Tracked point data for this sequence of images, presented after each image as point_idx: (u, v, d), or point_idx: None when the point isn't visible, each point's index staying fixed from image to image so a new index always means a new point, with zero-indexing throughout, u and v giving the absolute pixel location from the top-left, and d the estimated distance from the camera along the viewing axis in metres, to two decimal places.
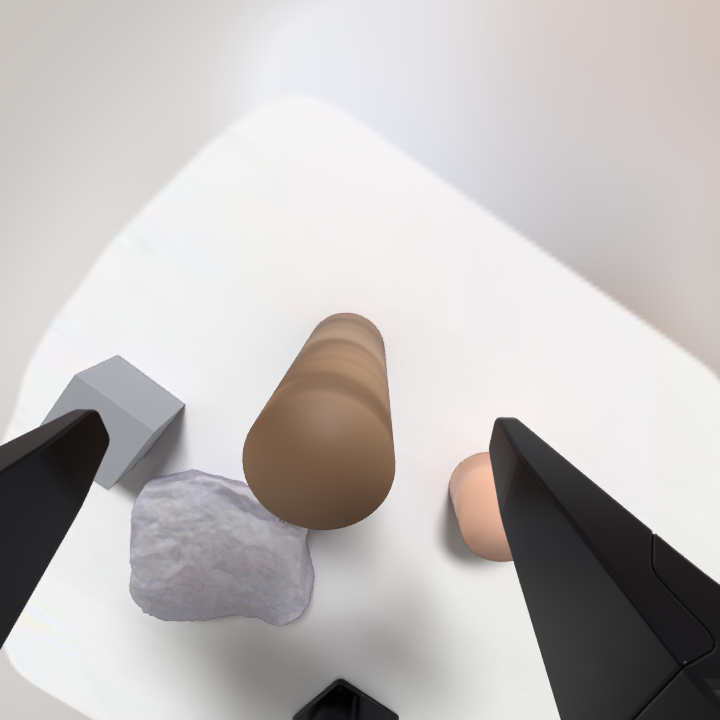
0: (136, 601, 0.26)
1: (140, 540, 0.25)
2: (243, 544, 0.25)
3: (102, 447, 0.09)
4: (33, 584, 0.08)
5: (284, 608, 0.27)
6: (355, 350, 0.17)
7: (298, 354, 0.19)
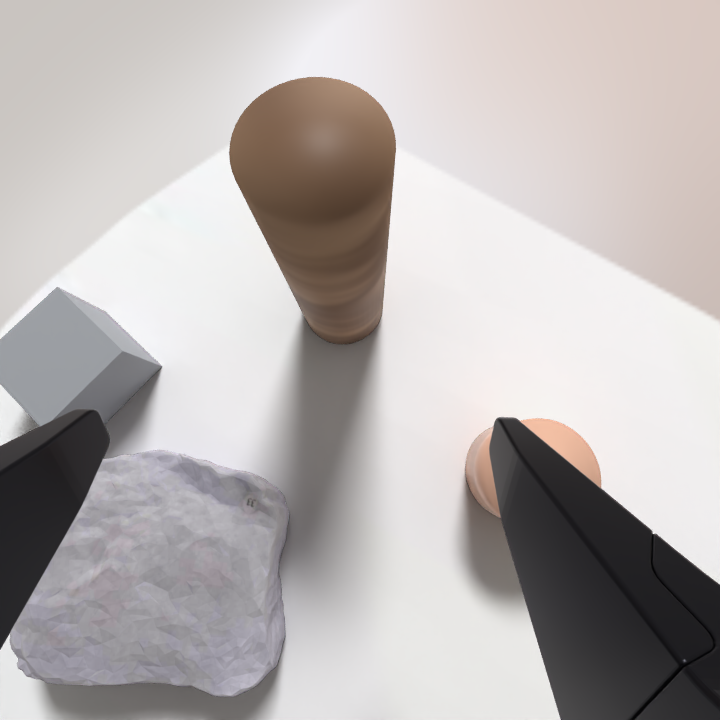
0: (14, 639, 0.17)
1: None
2: (194, 535, 0.19)
3: (102, 447, 0.09)
4: (33, 584, 0.08)
5: (235, 660, 0.18)
6: None
7: None
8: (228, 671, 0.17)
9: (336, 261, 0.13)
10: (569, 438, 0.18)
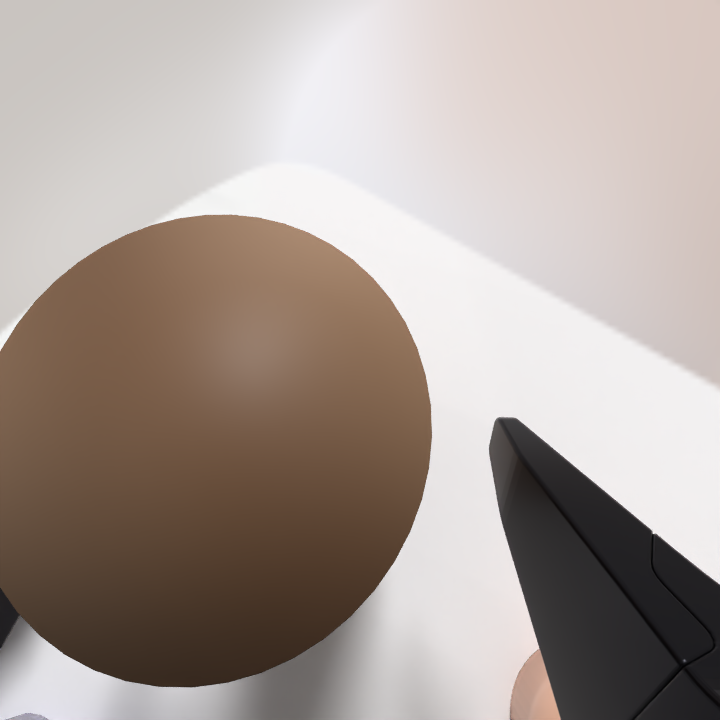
0: None
1: None
2: None
3: None
4: None
5: None
6: None
7: None
8: None
9: None
10: None
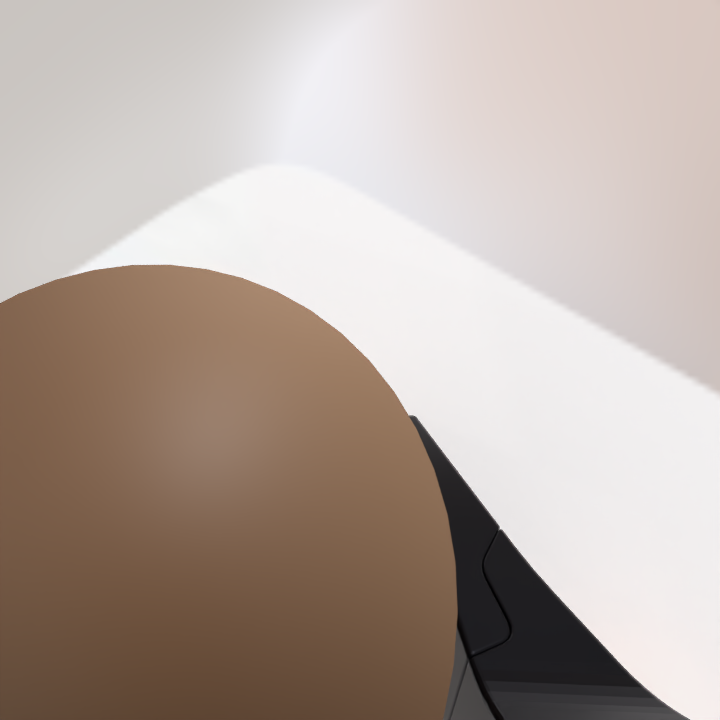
0: None
1: None
2: None
3: None
4: None
5: None
6: None
7: None
8: None
9: None
10: None
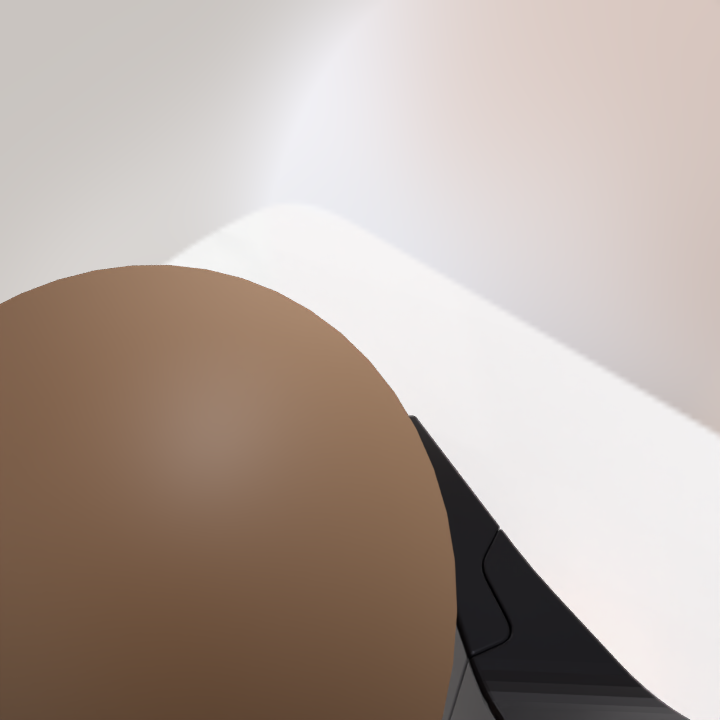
0: None
1: None
2: None
3: None
4: None
5: None
6: None
7: None
8: None
9: None
10: None
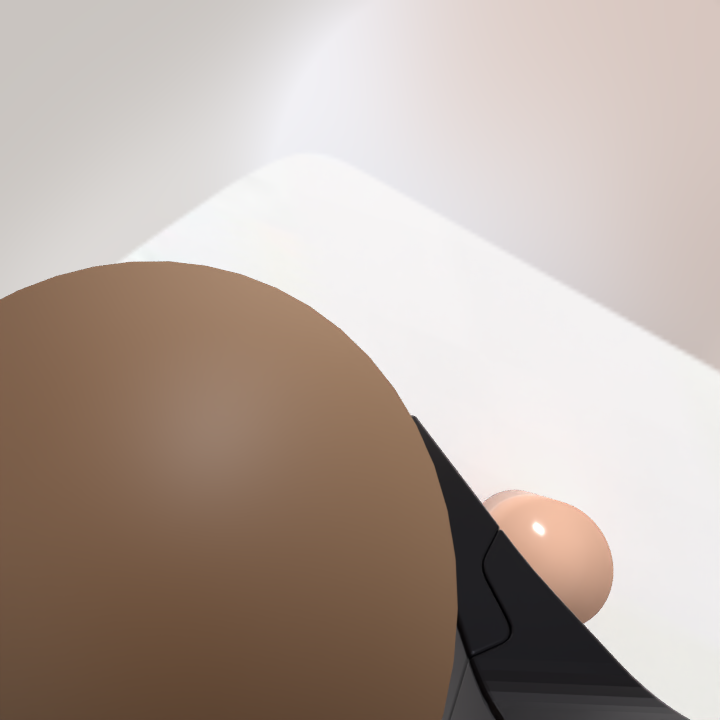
0: None
1: None
2: None
3: None
4: None
5: None
6: None
7: None
8: None
9: None
10: (579, 522, 0.17)
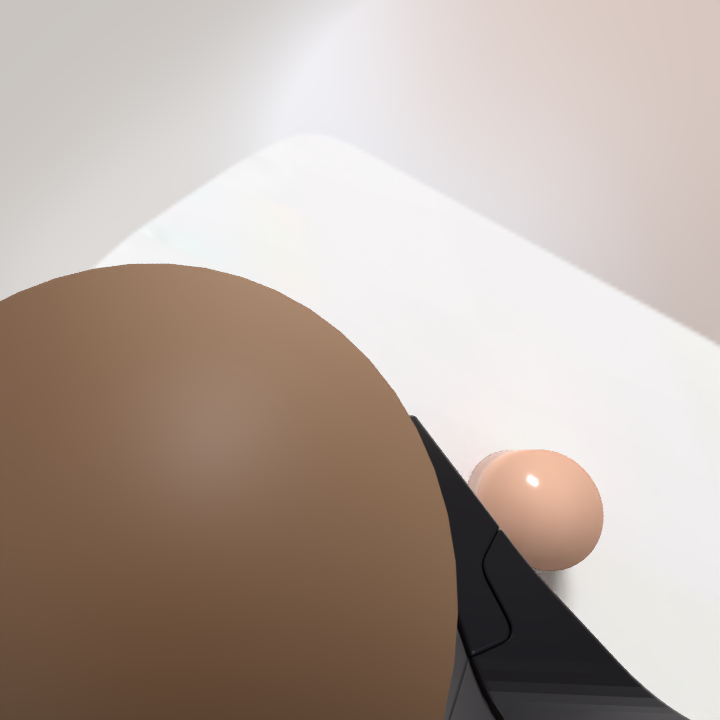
0: None
1: None
2: None
3: None
4: None
5: None
6: None
7: None
8: None
9: None
10: (571, 470, 0.18)
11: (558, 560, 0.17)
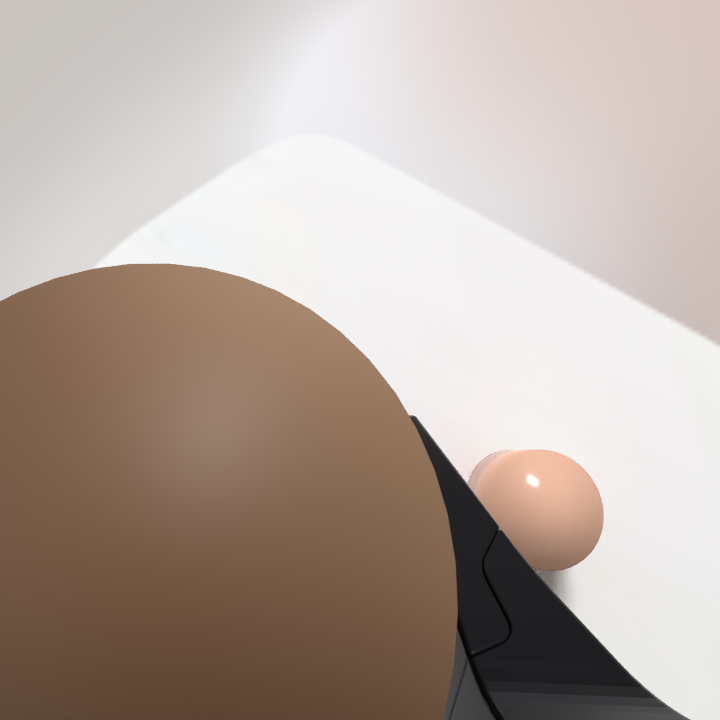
0: None
1: None
2: None
3: None
4: None
5: None
6: None
7: None
8: None
9: None
10: (571, 470, 0.18)
11: (558, 560, 0.17)
